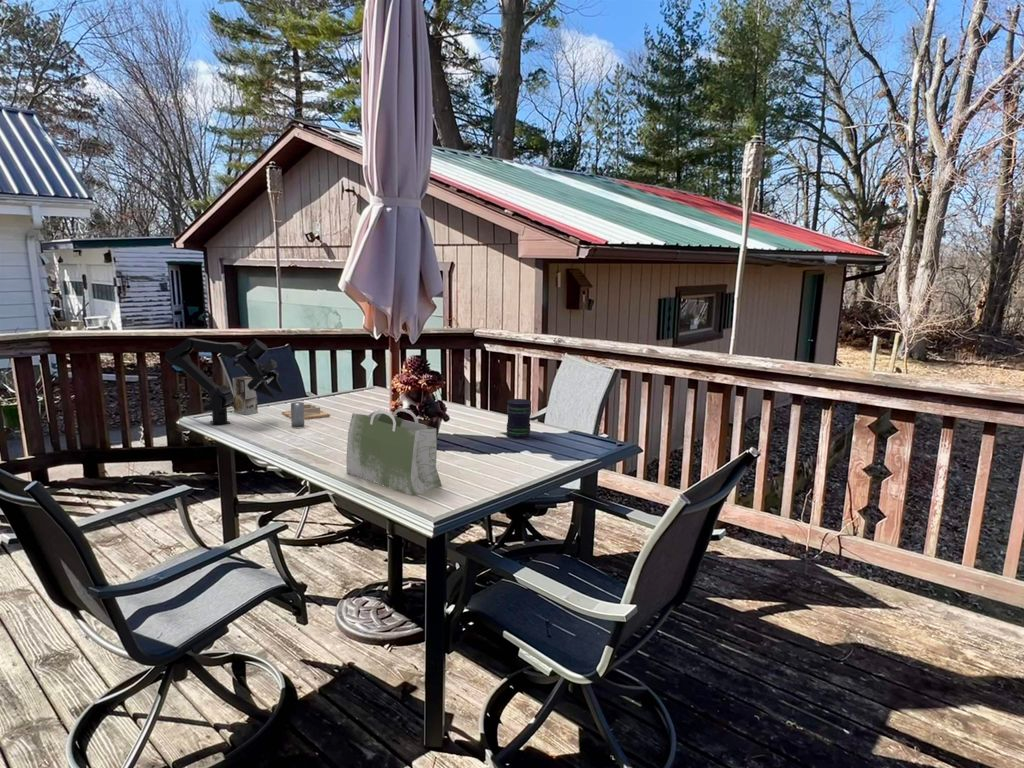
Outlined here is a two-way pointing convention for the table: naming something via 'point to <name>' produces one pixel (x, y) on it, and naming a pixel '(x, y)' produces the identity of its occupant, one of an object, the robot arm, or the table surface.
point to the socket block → (310, 412)
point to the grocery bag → (393, 451)
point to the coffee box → (244, 396)
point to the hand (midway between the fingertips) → (278, 394)
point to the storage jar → (518, 418)
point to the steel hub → (297, 414)
